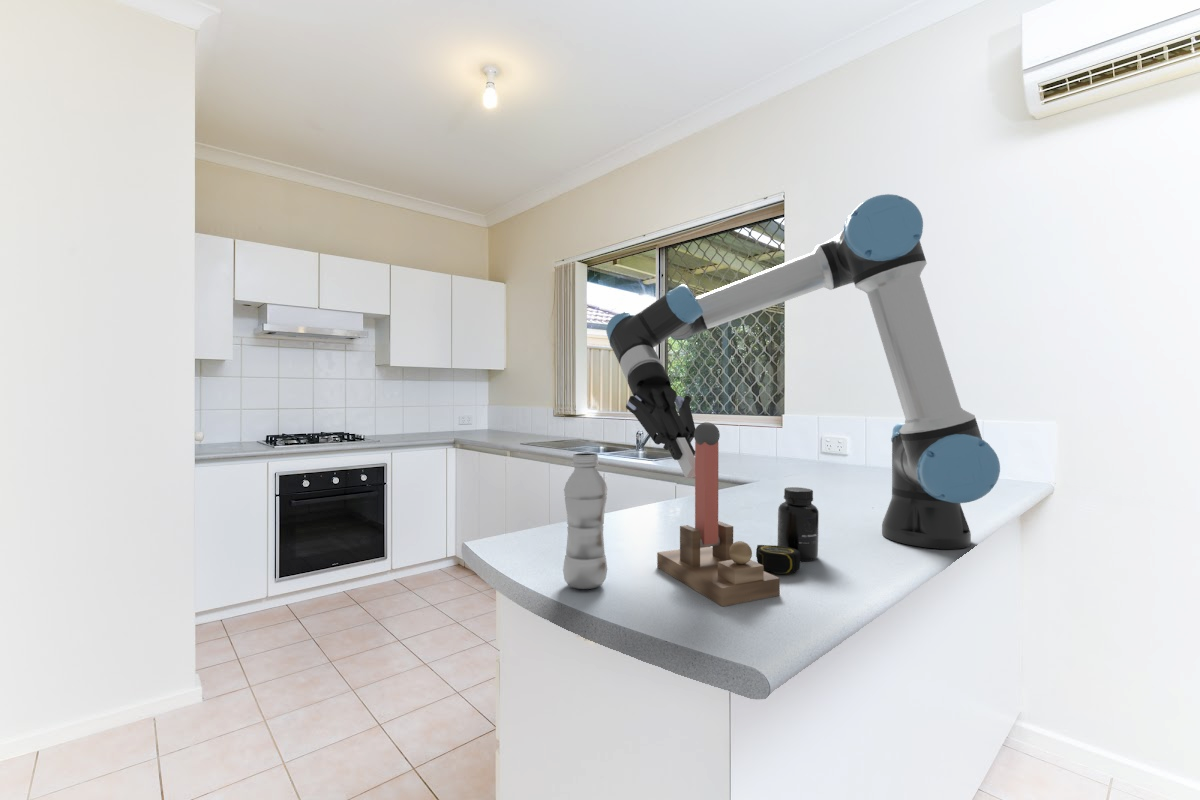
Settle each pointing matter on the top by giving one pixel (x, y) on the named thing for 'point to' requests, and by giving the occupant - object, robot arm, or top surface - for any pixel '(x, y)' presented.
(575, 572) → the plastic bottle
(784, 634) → the top surface
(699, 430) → the lever
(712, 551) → the cracker base
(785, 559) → the tape measure
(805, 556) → the supplement bottle
